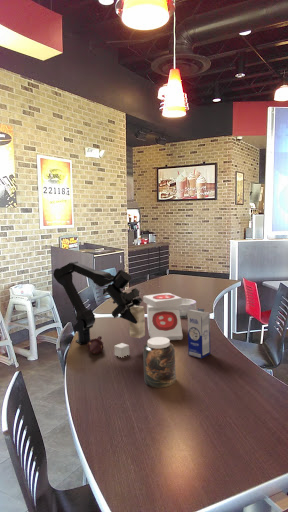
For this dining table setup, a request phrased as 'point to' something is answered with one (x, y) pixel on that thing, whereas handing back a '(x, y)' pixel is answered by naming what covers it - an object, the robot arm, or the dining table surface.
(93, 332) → the dining table surface
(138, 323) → the birch block
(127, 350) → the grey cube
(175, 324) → the pizza boxes
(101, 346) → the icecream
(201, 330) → the milk carton
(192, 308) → the paper bowls
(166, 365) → the jar
